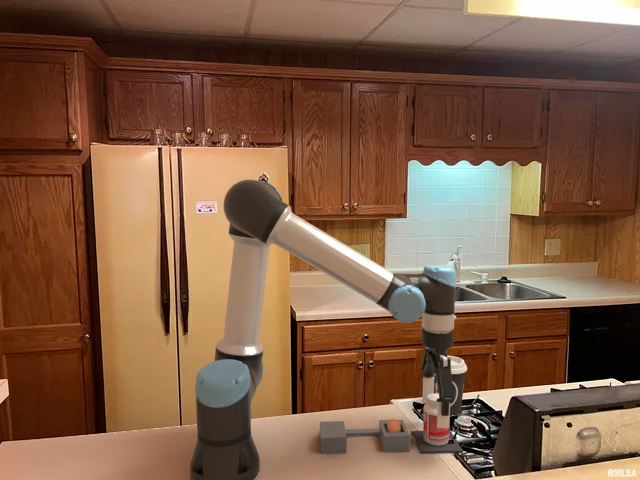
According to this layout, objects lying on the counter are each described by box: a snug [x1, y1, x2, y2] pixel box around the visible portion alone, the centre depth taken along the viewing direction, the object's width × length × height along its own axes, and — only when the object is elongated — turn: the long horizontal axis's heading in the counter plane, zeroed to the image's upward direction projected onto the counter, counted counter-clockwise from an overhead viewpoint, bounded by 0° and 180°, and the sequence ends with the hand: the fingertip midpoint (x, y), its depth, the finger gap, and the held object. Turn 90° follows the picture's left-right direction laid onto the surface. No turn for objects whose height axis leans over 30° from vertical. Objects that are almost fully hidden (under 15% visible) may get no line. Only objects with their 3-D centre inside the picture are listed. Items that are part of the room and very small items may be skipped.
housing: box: [319, 419, 411, 455], centre depth 118 cm, size 21×10×4 cm, turn 92°
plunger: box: [387, 418, 401, 432], centre depth 117 cm, size 3×3×5 cm
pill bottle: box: [422, 393, 450, 446], centre depth 118 cm, size 6×6×11 cm
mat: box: [410, 429, 464, 455], centre depth 118 cm, size 10×10×1 cm
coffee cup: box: [433, 355, 468, 416], centre depth 134 cm, size 10×10×15 cm
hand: (435, 414), depth 117 cm, fingers open, 13 cm apart
